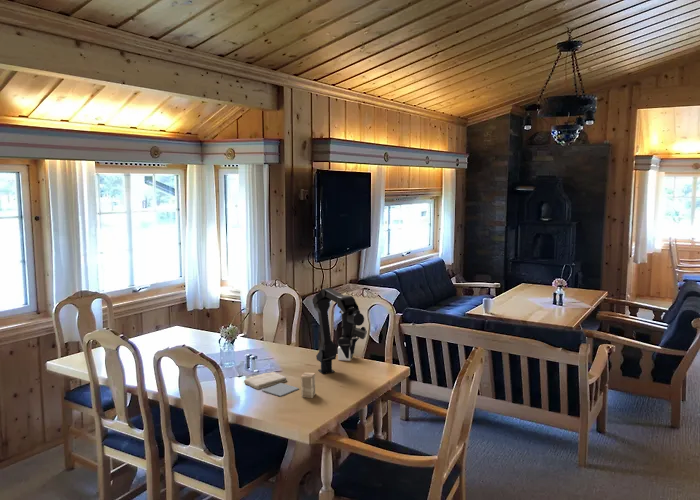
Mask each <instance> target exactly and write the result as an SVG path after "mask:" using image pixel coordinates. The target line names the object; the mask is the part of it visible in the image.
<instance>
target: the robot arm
mask: <svg viewBox="0 0 700 500" xmlns="http://www.w3.org/2000/svg"><path fill="white" fill-rule="evenodd" d="M331 301H332V302H334V303H336V306H337V307H338V308H339V309H340V310H339V314H340V315H341V316H340V317H341V326H340V329H342V334H341V337H339V338H338V340H337V341H336V342H337V343H336V342H335V343H334V342H333V340H332V336H331V329H330V321H329V320H330V319H329V313H328V312H329V309H330V308H331ZM312 304H313V308H314V310H315V311H316V312H317V314H318V323H319V324H318V325H319V330H320V339H321V341H320V343H319V347H318V349H319V351H318V352H317V354H316V357H315V358H316V361H318V362H320V369H318V372H319V373H321V374H323V375H326V374H331V373H335V370H333V361H334V360H336V358H337V355H338V349H337V346H336V345H338V347H339V346H340V348H341V349H342V351H343V353H344V355H345V357H346V358H349V351H351V354H353V355H354V354H355V350H356V343H357V341H359V339H361V340H364V339H365V338H366V336H367V333H368V330H366V327H365V326H362V325H363V324H364V322H365V317H364V315H363V314H362V313H361V310H360V309H359V305H358V304H357V302H356V299H355V298H354V296H352V295H347V294H346V295H344V294H342V293H340V292H338V291H336V290H334V289H333V288H332V287H327V288H322V289H321V290H320V291H319V292H317V293H316V294H315V295H314V296H313V297H312ZM357 326H362V327H357Z"/></svg>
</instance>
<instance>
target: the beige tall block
mask: <svg viewBox="0 0 700 500" xmlns="http://www.w3.org/2000/svg"><path fill="white" fill-rule="evenodd" d="M300 378H301V379H300V380H301V381H300V382H301V386H300V387H301V398H310V399H313V398H314V397H315V396H316V373H315V372H303V373H302V374H301V376H300Z"/></svg>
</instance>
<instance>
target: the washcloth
mask: <svg viewBox="0 0 700 500" xmlns="http://www.w3.org/2000/svg"><path fill="white" fill-rule="evenodd" d="M287 381H288V379H287V376H284V375H282V374H279V373H278V372H275V371H271V372H268V373H266V372H263V373H261V374H258V375H254V376H251V377H247V378H246V379H244V380H243V383H244V384H245V385H247V386H250V387H252V388H254V389H255V390H260V389H261V390H262V389H265V388H269V387H271V386H274V385H276V384H279V383H285V382H287Z"/></svg>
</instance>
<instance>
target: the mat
mask: <svg viewBox="0 0 700 500" xmlns="http://www.w3.org/2000/svg"><path fill="white" fill-rule="evenodd" d="M298 390H300V388H299V387H296V386H293V385H289V384H286V383H284V382H282V383H278V384H274V385H271V386H268V387H265V388H263V389H261V391H262V392H263V393H267V394H269V395H274V396H277V397H283V396H286V395H289V394H290V393H294V392H296V391H298Z"/></svg>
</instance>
